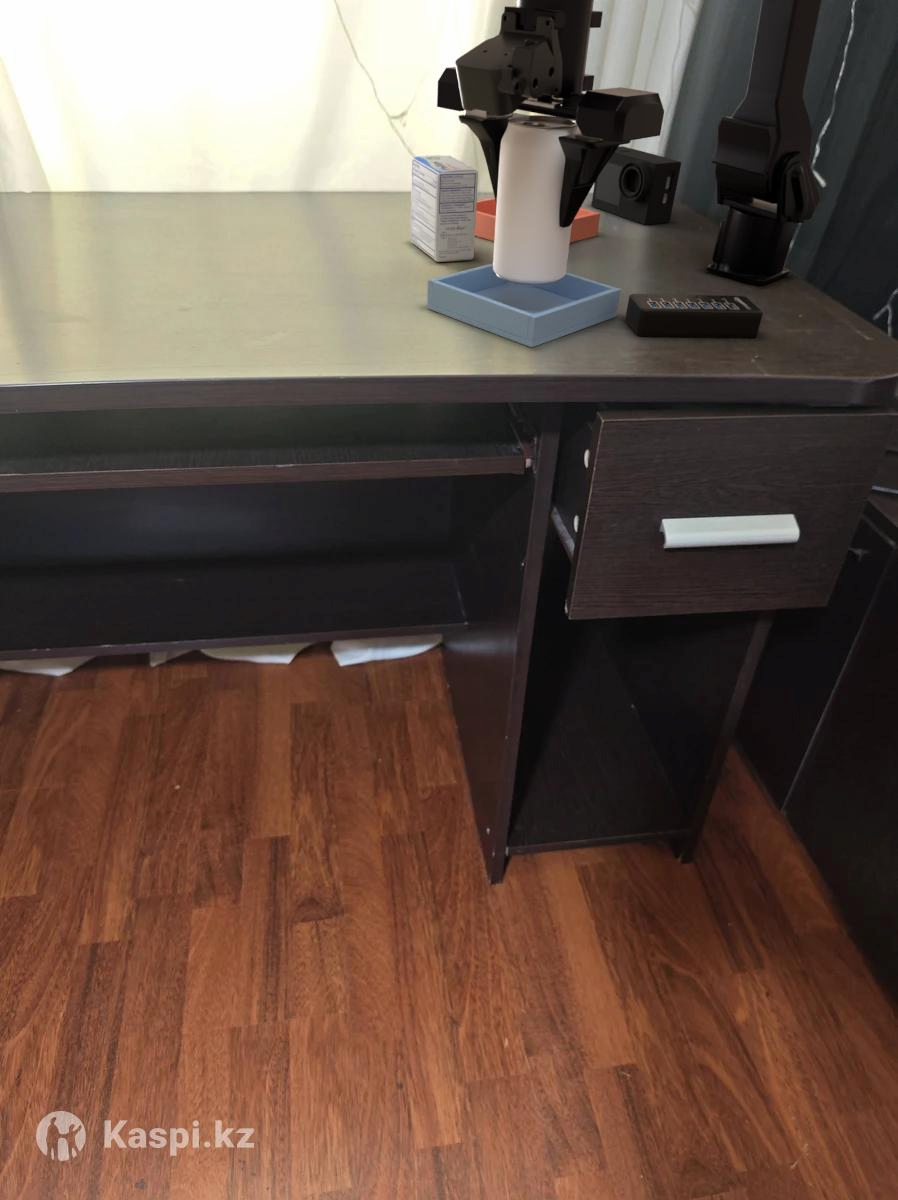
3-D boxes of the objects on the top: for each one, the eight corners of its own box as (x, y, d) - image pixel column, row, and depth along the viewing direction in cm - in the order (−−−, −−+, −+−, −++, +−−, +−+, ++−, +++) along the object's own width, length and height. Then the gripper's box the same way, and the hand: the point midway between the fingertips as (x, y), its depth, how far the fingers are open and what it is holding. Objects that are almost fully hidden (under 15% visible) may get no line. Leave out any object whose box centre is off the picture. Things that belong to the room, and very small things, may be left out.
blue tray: (616, 316, 77) (621, 288, 76) (531, 347, 70) (535, 317, 69) (514, 283, 84) (516, 256, 82) (426, 308, 77) (427, 279, 75)
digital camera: (583, 207, 111) (591, 147, 107) (613, 203, 114) (623, 145, 110) (638, 226, 105) (649, 163, 100) (669, 222, 107) (681, 160, 103)
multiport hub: (623, 318, 77) (628, 293, 76) (739, 320, 78) (745, 295, 77) (637, 336, 74) (642, 309, 72) (758, 338, 75) (765, 311, 73)
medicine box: (474, 261, 89) (480, 170, 84) (434, 263, 88) (438, 171, 82) (446, 240, 95) (450, 154, 90) (409, 242, 93) (411, 155, 88)
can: (561, 290, 72) (579, 130, 65) (486, 282, 73) (495, 124, 66) (568, 268, 77) (586, 117, 70) (498, 261, 78) (508, 112, 71)
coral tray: (597, 235, 100) (600, 213, 99) (531, 252, 93) (534, 228, 91) (518, 214, 106) (520, 192, 105) (450, 228, 99) (451, 205, 98)
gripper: (388, -18, 63) (388, 209, 72) (594, 1, 53) (561, 261, 63) (488, -16, 70) (476, 192, 79) (687, 2, 60) (645, 236, 69)
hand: (532, 218), depth 72 cm, fingers closed on can, 6 cm apart
